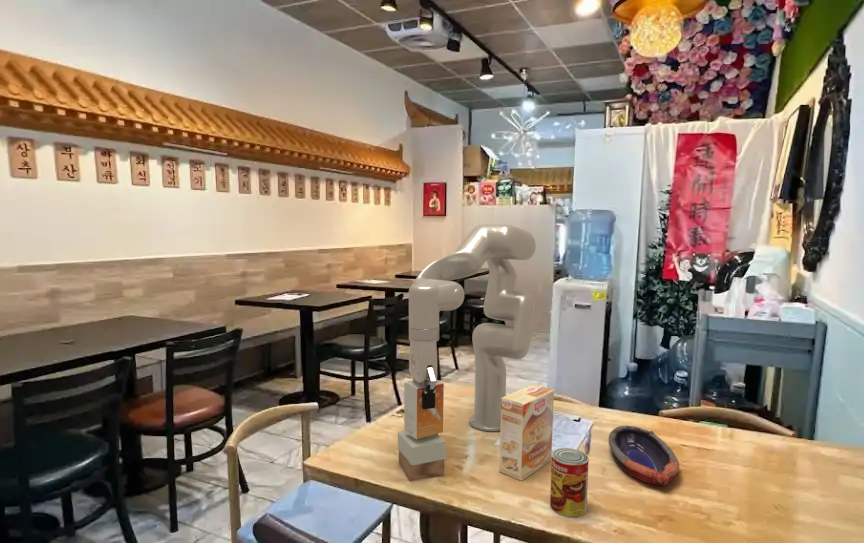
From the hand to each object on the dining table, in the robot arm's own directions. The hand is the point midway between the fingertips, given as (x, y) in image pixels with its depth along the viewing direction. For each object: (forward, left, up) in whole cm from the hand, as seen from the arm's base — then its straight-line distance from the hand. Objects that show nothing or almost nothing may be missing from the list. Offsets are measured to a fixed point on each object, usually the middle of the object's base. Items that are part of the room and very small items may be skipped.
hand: (423, 402), depth 131 cm
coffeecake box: (-26, +6, -18) cm, 32 cm away
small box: (0, 0, -8) cm, 8 cm away
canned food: (-26, +26, -18) cm, 41 cm away
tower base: (+1, 0, -18) cm, 18 cm away
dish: (-56, +13, -18) cm, 60 cm away
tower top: (+1, 0, -14) cm, 14 cm away
